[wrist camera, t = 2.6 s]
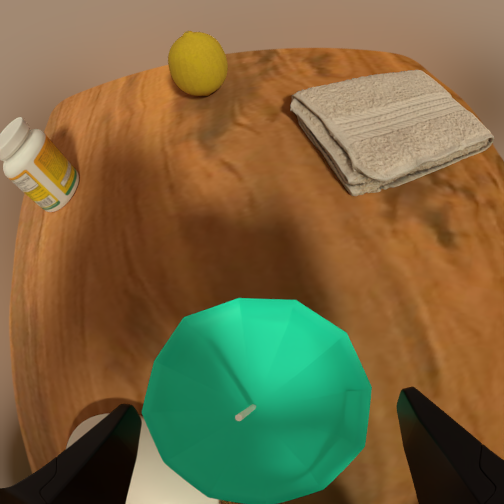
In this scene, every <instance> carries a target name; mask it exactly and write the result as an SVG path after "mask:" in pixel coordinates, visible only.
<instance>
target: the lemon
mask: <svg viewBox="0 0 504 504" xmlns="http://www.w3.org/2000/svg"><path fill="white" fill-rule="evenodd" d="M168 64H169V70H170V73H171V76H172V78H173V80H174V82H175V84H176V85H177V86H178V87H179V88H180V89H181V90H182V91H184V92H185V93H188V94H190V95H194V96H203V95H204V96H209V95H210V94H211V93H213V92H214V91H216V90H217V89H218V88H219V87H220V86H221V85H222V84H223V82H224V81H225V78H226V75H227V70H228V65H227V59H226V56H225V53H224V51H223V49H222V47H221V45H220V44H219V42H218V41H217V40H216V39H215V38H213V37H212V36H210V35H208V34H205V33H201V32H192V31H187V32H185V33H184V34H183V36H181V37H180V38H179V39H177V41H175V43H174V44H173V45H172V47H171V49H170V52H169V56H168Z"/></svg>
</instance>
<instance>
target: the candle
mask: <svg viewBox="0 0 504 504" xmlns="http://www.w3.org/2000/svg"><path fill="white" fill-rule="evenodd" d="M371 389H372V387H371V384H370V382H369V380H368V378H367V376H366V373H365V371H364V369H363V367H362V365H361V362H360V360H359V358H358V356H357V354H356V352H355V349H354V347H353V345H352V343H351V341H350V339H349V337H348V335H347V333H346V332H345V331H343V330H341V329H340V328H338V327H337V326H335V325H334V324H332V323H331V322H329V321H328V320H326V319H324V318H323V317H321V316H320V315H318V314H317V313H315V312H314V311H312V310H311V309H309V308H308V307H306V306H305V305H303V304H301V303H300V302H298V301H297V300H283V299H252V298H237V299H234V300H232V301H229V302H226V303H223V304H220V305H218V306H215V307H212V308H209V309H206V310H203V311H200V312H197V313H195V314H192V315H189V316H186V317H184V318H183V319H182V321H181V322H180V323H179V325H178V326H177V328H176V329H175V331H174V332H173V334H172V335H171V337H170V338H169V340H168V341H167V343H166V344H165V346H164V347H163V349H162V350H161V352H160V353H159V354H158V356H157V357H156V359H155V360H154V364H153V368H152V372H151V376H150V380H149V384H148V388H147V392H146V396H145V400H144V404H143V409H142V415H143V417H144V420H145V422H146V425H147V427H148V429H149V432H150V434H151V436H152V439H153V441H154V443H155V445H156V447H157V450H158V452H159V454H160V456H161V458H162V460H163V462H164V463H165V464H166V465H167V466H168V467H169V468H171V469H172V470H173V471H174V472H175V473H177V474H178V475H179V476H180V477H182V478H183V479H184V480H185V481H187V482H188V483H189V484H191V485H192V486H193V487H195V488H196V489H197V490H199V491H200V492H201V493H203V494H204V495H205V496H207V497H208V498H213V499H218V500H224V501H230V502H236V503H243V504H278V503H282V502H285V501H289V500H293V499H296V498H299V497H303V496H306V495H309V494H312V493H315V492H318V491H321V490H324V489H325V488H326V487H327V486H328V485H329V484H330V483H331V482H332V481H333V480H334V479H335V478H336V477H337V476H338V475H339V474H340V473H341V472H342V471H343V470H344V469H345V468H346V467H347V466H348V465H349V464H350V463H351V462H352V461H353V459H354V458H355V457H356V456H357V455H358V454H359V453H360V452H361V451H362V450H363V448H364V447H365V442H366V434H367V427H368V419H369V410H370V400H371Z"/></svg>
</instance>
